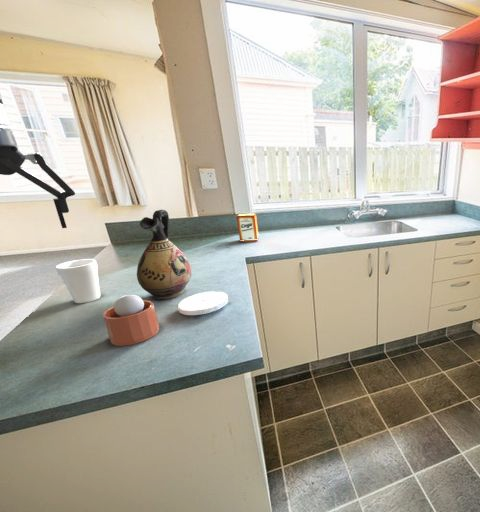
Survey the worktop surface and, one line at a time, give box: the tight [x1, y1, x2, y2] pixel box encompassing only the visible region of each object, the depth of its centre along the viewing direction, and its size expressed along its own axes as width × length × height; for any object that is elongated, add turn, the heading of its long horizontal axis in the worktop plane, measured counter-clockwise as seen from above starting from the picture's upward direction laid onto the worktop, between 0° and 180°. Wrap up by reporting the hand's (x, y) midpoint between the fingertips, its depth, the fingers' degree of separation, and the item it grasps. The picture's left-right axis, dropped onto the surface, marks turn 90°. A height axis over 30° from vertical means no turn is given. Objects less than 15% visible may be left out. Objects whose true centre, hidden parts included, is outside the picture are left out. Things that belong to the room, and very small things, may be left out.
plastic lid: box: [177, 291, 229, 316], centre depth 97 cm, size 14×14×2 cm
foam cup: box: [55, 258, 101, 304], centre depth 100 cm, size 10×9×13 cm
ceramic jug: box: [136, 209, 193, 301], centre depth 102 cm, size 17×15×30 cm
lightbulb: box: [113, 294, 144, 317], centre depth 80 cm, size 6×6×11 cm
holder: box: [102, 299, 160, 347], centre depth 80 cm, size 10×10×8 cm
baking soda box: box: [236, 213, 260, 243], centre depth 175 cm, size 10×6×16 cm
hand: (19, 231), depth 64 cm, fingers open, 13 cm apart
